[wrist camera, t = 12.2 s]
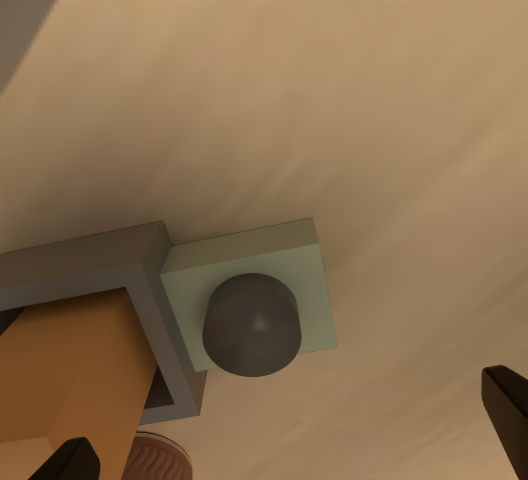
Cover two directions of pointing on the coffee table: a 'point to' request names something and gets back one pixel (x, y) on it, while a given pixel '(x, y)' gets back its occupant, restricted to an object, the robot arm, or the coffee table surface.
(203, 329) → the grey tray
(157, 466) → the coffee cup
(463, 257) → the coffee table surface
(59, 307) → the orange rectangular pillar
